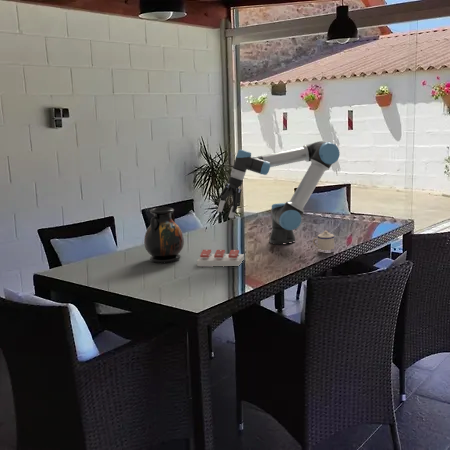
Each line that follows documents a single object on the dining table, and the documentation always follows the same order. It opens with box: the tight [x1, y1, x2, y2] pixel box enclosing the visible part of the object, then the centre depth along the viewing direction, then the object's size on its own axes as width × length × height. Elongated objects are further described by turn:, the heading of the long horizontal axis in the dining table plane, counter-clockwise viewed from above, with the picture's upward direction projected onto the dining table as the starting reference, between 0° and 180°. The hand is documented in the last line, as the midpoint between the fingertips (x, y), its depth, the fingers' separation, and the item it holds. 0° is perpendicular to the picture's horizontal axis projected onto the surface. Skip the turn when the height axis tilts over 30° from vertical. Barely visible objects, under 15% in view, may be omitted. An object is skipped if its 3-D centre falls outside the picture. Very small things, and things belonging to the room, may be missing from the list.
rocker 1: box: [199, 249, 212, 258], centre depth 306 cm, size 4×6×3 cm
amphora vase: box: [143, 206, 185, 264], centre depth 315 cm, size 22×22×28 cm
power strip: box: [196, 253, 245, 268], centre depth 306 cm, size 22×14×3 cm, turn 77°
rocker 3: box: [228, 249, 240, 258], centre depth 302 cm, size 4×6×3 cm
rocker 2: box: [214, 249, 226, 258], centre depth 304 cm, size 4×6×3 cm
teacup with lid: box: [312, 230, 335, 250], centre depth 319 cm, size 12×9×12 cm
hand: (224, 214), depth 323 cm, fingers open, 13 cm apart
